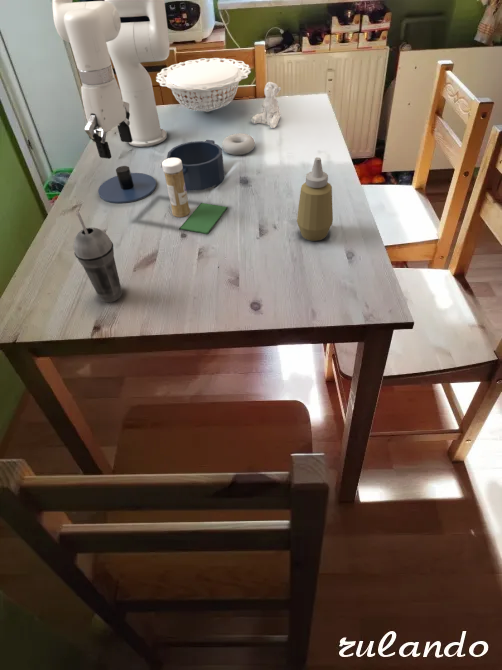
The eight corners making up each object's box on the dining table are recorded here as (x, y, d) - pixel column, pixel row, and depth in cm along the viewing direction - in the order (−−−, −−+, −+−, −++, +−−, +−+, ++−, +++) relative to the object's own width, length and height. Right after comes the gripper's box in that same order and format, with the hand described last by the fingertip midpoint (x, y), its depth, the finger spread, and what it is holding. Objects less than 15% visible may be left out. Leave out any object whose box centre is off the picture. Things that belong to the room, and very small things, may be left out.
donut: (221, 158, 137) (255, 156, 136) (220, 146, 134) (254, 144, 133) (223, 143, 143) (255, 141, 143) (222, 132, 141) (254, 130, 140)
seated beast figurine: (250, 123, 153) (248, 84, 144) (265, 114, 157) (264, 75, 149) (273, 129, 149) (272, 89, 140) (288, 119, 153) (288, 80, 144)
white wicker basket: (263, 97, 169) (262, 58, 159) (238, 133, 148) (235, 90, 139) (182, 94, 176) (176, 56, 167) (147, 128, 155) (139, 87, 146)
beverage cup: (130, 282, 98) (103, 197, 83) (125, 305, 93) (95, 218, 78) (96, 284, 98) (64, 199, 84) (89, 308, 93) (53, 221, 78)
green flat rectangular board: (134, 221, 115) (134, 219, 114) (158, 197, 122) (158, 196, 122) (207, 234, 109) (207, 232, 109) (227, 208, 116) (227, 206, 116)
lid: (87, 200, 123) (80, 179, 119) (119, 173, 133) (113, 152, 129) (138, 209, 119) (132, 187, 114) (167, 180, 128) (162, 159, 124)
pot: (157, 193, 124) (152, 166, 119) (190, 160, 137) (187, 134, 131) (206, 200, 120) (203, 173, 114) (236, 165, 132) (234, 140, 127)
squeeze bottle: (290, 229, 108) (291, 154, 95) (321, 221, 110) (326, 146, 97) (305, 248, 103) (308, 171, 90) (338, 238, 104) (345, 162, 92)
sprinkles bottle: (191, 216, 114) (182, 163, 104) (173, 219, 114) (162, 167, 104) (189, 206, 117) (180, 155, 108) (171, 210, 117) (160, 158, 107)
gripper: (104, 63, 112) (122, 134, 124) (59, 86, 101) (84, 162, 113) (131, 64, 110) (146, 137, 122) (88, 88, 99) (110, 166, 111)
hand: (116, 149), depth 117 cm, fingers open, 9 cm apart
